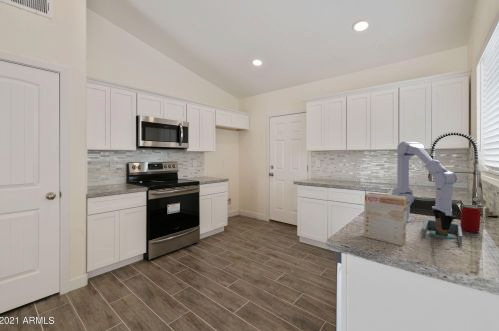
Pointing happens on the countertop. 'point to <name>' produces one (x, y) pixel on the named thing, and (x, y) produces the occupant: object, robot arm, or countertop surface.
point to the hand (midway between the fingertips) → (442, 227)
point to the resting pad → (442, 236)
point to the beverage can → (470, 218)
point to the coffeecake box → (385, 218)
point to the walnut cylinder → (440, 228)
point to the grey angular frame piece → (453, 228)
